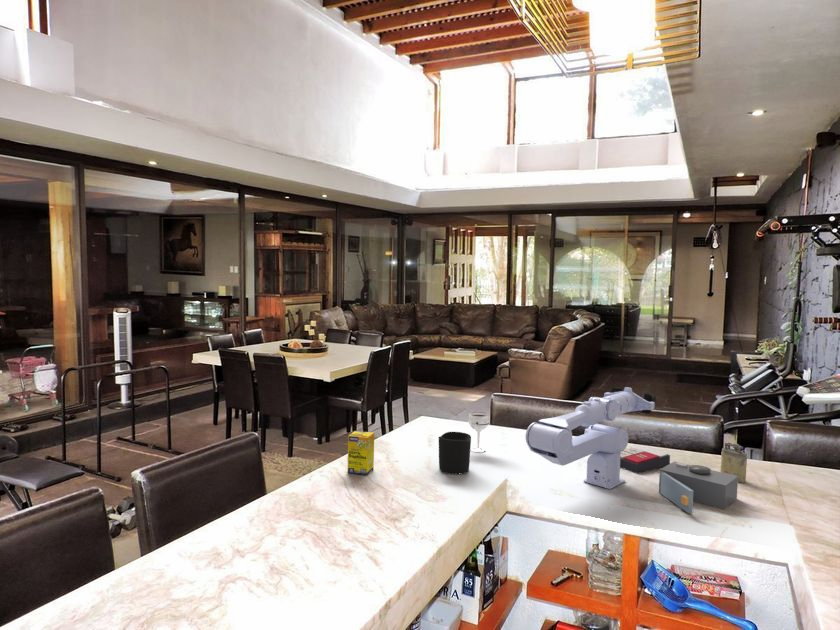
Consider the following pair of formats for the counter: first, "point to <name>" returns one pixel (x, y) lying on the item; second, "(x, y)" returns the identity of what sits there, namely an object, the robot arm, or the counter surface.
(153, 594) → the counter surface
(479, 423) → the wineglass
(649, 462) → the calculator
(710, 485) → the camera case
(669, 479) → the side door
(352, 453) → the supplement box
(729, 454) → the lighter
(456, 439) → the pen holder
